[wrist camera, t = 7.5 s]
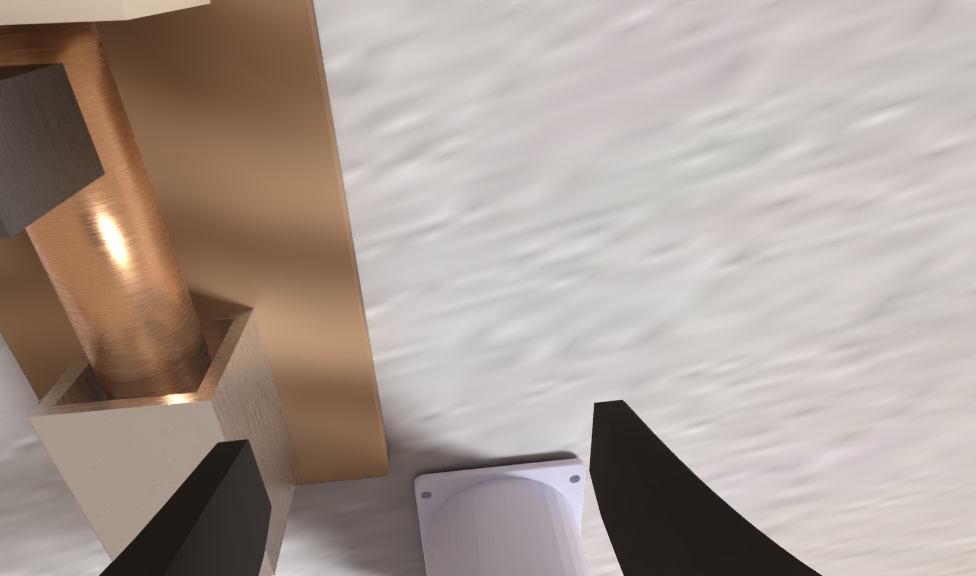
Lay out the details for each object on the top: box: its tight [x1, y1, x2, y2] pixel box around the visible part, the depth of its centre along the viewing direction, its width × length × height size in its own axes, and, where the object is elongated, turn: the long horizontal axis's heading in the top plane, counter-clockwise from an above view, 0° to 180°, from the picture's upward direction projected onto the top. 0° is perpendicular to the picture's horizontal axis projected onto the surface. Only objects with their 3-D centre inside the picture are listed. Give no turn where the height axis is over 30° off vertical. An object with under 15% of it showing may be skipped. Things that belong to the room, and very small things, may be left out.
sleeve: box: [27, 308, 299, 576], centre depth 19 cm, size 8×5×5 cm, turn 2°
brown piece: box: [0, 21, 213, 400], centre depth 13 cm, size 14×3×6 cm, turn 2°
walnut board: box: [0, 0, 389, 485], centre depth 19 cm, size 23×12×1 cm, turn 2°
